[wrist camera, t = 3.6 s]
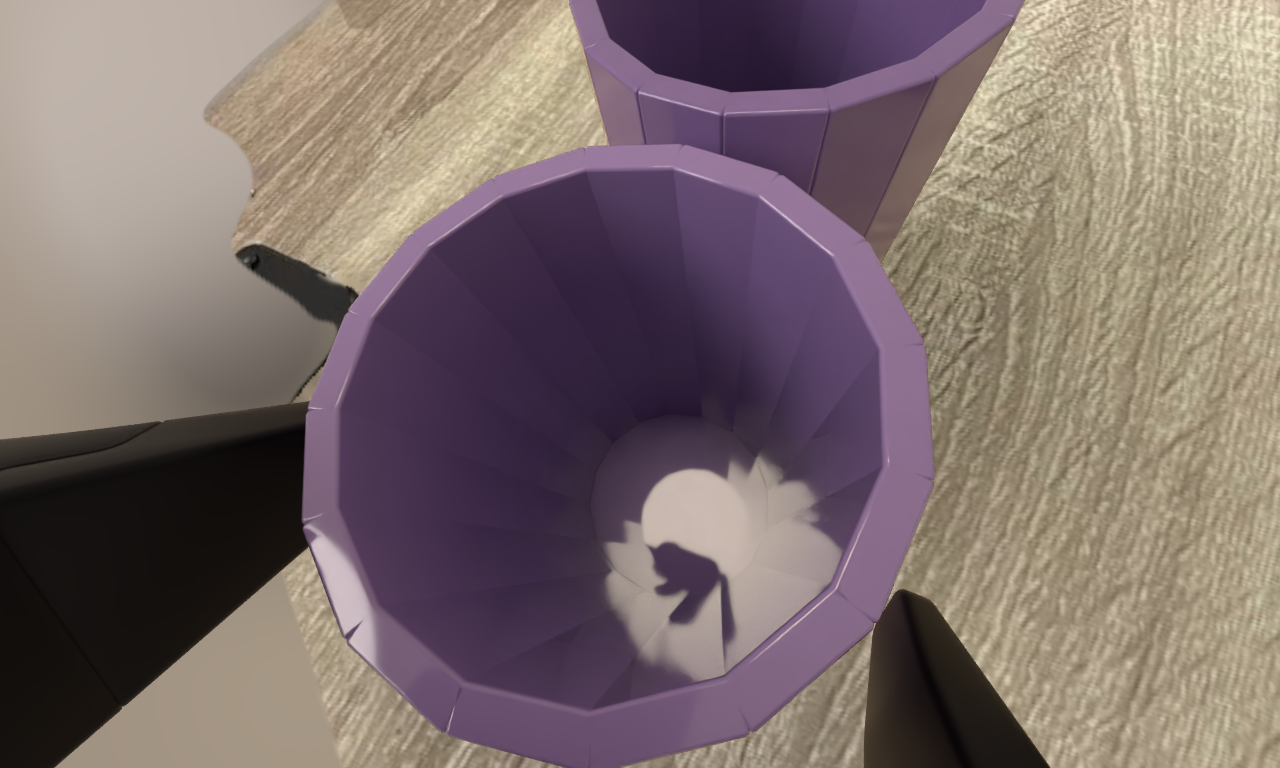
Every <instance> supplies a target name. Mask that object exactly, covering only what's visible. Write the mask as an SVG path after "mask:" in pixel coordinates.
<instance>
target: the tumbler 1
mask: <svg viewBox="0 0 1280 768" xmlns="http://www.w3.org/2000/svg"><path fill="white" fill-rule="evenodd" d="M1024 2H1025V0H569V5H570V9H571V13H572V16H573V20H574V24H575V27H576V31H577V35H578V39H579V42H580V46H581V50H582V53H583V57H584V61H585V64H586V68H587V72H588V75H589V79H590V83H591V86H592V90H593V94H594V97H595V101H596V105H597V108H598V112H599V116H600V119H601V123H602V127H603V130H604V134H605V138H606V141H607V145H608V146H612V145H648V144H682V146H684V145H690V146H693V147H697V148H700V149H703V150H707V151H710V152H713V153H717V154H720V155H723V156H727V157H730V158H733V159H736V160H740V161H743V162H746V163H750V164H753V165H756V166H760V167H763V168H766V169H770V170H773V171H776V172H778V173H779V175H784V176H785V177H787V178H788V179H789V180H791V181H792V182H793V183H795V184H796V185H797V186H798V187H800V188H801V189H802V190H804V191H805V192H806V193H808V194H809V195H810V196H811V197H813V198H814V199H815V200H817V201H818V202H819V203H821V204H822V205H823V206H824V207H826V208H827V209H828V210H830V211H831V212H832V213H834V214H835V215H836V216H838V217H839V218H840V219H841V220H843V221H844V222H845V223H847V224H848V225H849V226H851V227H852V228H853V229H854V230H856V231H857V232H858V233H860V234H861V235H862V236H863V237H864V238H865V241H867V242H869V244H870V245H871V247H872V249H873V251H874V253H875V254H876V256H877V258H878V260H879V261H880V263H882V261H883V259H884V257H885V255H886V254H887V252H888V250H889V248H890V246H891V245H892V243H893V241H894V239H895V237H896V235H897V234H898V232H899V230H900V228H901V226H902V225H903V223H904V221H905V219H906V217H907V216H908V214H909V212H910V210H911V208H912V207H913V205H914V203H915V201H916V199H917V198H918V196H919V194H920V192H921V190H922V188H923V187H924V185H925V183H926V181H927V179H928V178H929V176H930V174H931V172H932V170H933V169H934V167H935V165H936V163H937V161H938V160H939V158H940V156H941V154H942V152H943V151H944V149H945V147H946V145H947V143H948V141H949V140H950V138H951V136H952V134H953V132H954V131H955V129H956V127H957V125H958V123H959V122H960V120H961V118H962V116H963V114H964V113H965V111H966V109H967V107H968V105H969V103H970V102H971V100H972V98H973V96H974V94H975V93H976V91H977V89H978V87H979V85H980V84H981V82H982V80H983V78H984V76H985V75H986V73H987V71H988V69H989V67H990V66H991V64H992V62H993V60H994V58H995V56H996V55H997V53H998V51H999V49H1000V47H1001V46H1002V44H1003V42H1004V40H1005V38H1006V37H1007V35H1008V33H1009V31H1010V29H1011V28H1012V26H1013V24H1014V22H1015V20H1016V18H1017V16H1018V14H1019V12H1020V10H1021V8H1022V6H1023V4H1024Z"/></svg>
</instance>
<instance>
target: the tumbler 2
mask: <svg viewBox="0 0 1280 768" xmlns="http://www.w3.org/2000/svg"><path fill="white" fill-rule="evenodd" d="M413 234H414V235H413ZM413 234H411V235H409V236H408V237H407V239H406V240H405V241H404V242H403V243H402V245H401V246H400V247H399V248H398V250H397V251H396V252H395V253H394V254H393V256H392V257H391V258H390V259H389V260H388V262H387V263H386V264H385V265H384V267H383V268H382V269H381V270H380V271H379V273H378V274H377V275H376V276H375V278H374V279H373V280H372V281H371V282H370V284H369V285H368V286H367V287H366V288H365V290H364V291H363V292H362V293H361V295H360V296H359V297H358V298H357V299H356V301H355V302H354V303H353V304H352V306H351V307H350V308H349V310H348V311H349V313H347V314H346V315H345V317H344V319H343V322H342V324H341V327H340V329H339V331H338V334H337V336H336V339H335V341H334V344H333V346H332V349H331V351H330V354H329V356H328V359H327V361H326V364H325V366H324V368H323V371H322V373H321V376H320V378H319V381H318V383H317V386H316V388H315V391H314V393H313V396H312V398H311V401H310V403H309V405H308V410H309V412H307V414H306V426H305V448H304V471H303V494H302V517H301V521H302V524H304V526H303V532H304V535H305V537H306V540H307V543H308V545H309V548H310V551H311V553H312V556H313V559H314V562H315V564H316V567H317V570H318V572H319V575H320V578H321V580H322V583H323V586H324V589H325V591H326V594H327V597H328V599H329V602H330V605H331V608H332V610H333V613H334V616H335V618H336V621H337V624H338V626H339V629H340V632H341V635H342V637H343V638H344V639H347V645H348V646H349V647H350V648H351V649H352V650H354V651H355V652H356V653H357V654H358V655H359V656H360V657H361V658H362V659H363V660H364V661H365V662H366V663H367V664H368V665H369V666H370V667H371V668H373V669H374V670H375V671H376V672H377V673H378V674H379V675H380V676H381V677H382V678H383V679H384V680H385V681H386V682H387V683H388V684H389V685H391V686H392V687H393V688H394V689H395V690H396V691H397V692H398V693H399V694H400V695H401V696H402V697H403V698H404V699H405V700H406V701H407V702H409V703H410V704H411V705H412V706H413V707H414V708H415V709H416V710H417V711H418V712H419V713H420V714H421V715H422V716H423V717H424V718H425V719H427V720H428V721H429V722H430V723H431V724H432V725H433V726H434V727H435V728H436V729H437V730H438V731H440V732H443V733H445V732H446V735H447V736H449V737H452V738H456V739H460V740H463V741H467V742H471V743H475V744H479V745H482V746H486V747H490V748H494V749H497V750H501V751H505V752H509V753H513V754H516V755H520V756H524V757H528V758H531V759H535V760H539V761H543V762H546V763H550V764H554V765H558V766H562V767H565V768H621V767H626V766H630V765H634V764H638V763H642V762H646V761H650V760H654V759H658V758H662V757H667V756H671V755H675V754H679V753H683V752H687V751H691V750H695V749H699V748H703V747H708V746H712V745H716V744H720V743H724V742H728V741H732V740H736V739H740V738H744V737H746V736H748V735H749V731H751V732H755V731H757V730H758V729H760V728H761V727H762V726H763V725H764V724H765V723H766V722H768V721H769V720H770V719H771V718H772V717H773V716H774V715H776V714H777V713H778V712H779V711H780V710H781V709H782V708H784V707H785V706H786V705H787V704H788V703H789V702H790V701H792V700H793V699H794V698H795V697H796V696H797V695H798V694H800V693H801V692H802V691H803V690H804V689H805V688H806V687H808V686H809V685H810V684H811V683H812V682H813V681H814V680H816V679H817V678H818V677H819V676H820V675H821V674H822V673H824V672H825V671H826V670H827V669H828V668H829V667H830V666H832V665H833V664H834V663H835V662H836V661H837V660H838V659H840V658H841V657H842V656H843V655H844V654H845V653H846V652H848V651H849V650H850V649H851V648H852V647H853V646H854V645H856V644H857V643H858V642H859V641H860V640H861V639H862V638H864V637H865V636H866V635H867V634H868V633H869V632H870V631H872V629H873V627H874V623H877V622H878V621H879V620H880V618H881V615H882V613H883V610H884V608H885V605H886V603H887V600H888V598H889V596H890V593H891V591H892V588H893V586H894V583H895V581H896V578H897V576H898V573H899V571H900V568H901V566H902V564H903V561H904V559H905V556H906V554H907V551H908V549H909V546H910V544H911V541H912V539H913V537H914V534H915V532H916V529H917V527H918V524H919V522H920V519H921V517H922V514H923V512H924V509H925V507H926V505H927V502H928V500H929V497H930V495H931V492H932V490H933V487H934V482H933V481H932V480H933V479H934V477H935V470H934V455H933V441H932V427H931V413H930V399H929V384H928V370H927V356H926V348H925V346H923V344H924V341H923V338H922V336H921V335H920V333H919V331H918V329H917V328H916V326H915V324H914V322H913V320H912V319H911V317H910V315H909V313H908V311H907V310H906V308H905V306H904V304H903V303H902V301H901V299H900V297H899V295H898V294H897V292H896V290H895V288H894V286H893V285H892V283H891V281H890V279H889V278H888V276H887V274H886V272H885V270H884V269H883V267H882V265H881V263H880V261H879V260H878V258H877V256H876V254H875V253H874V251H873V249H872V247H871V245H870V244H869V242H867V241H865V238H864V237H863V236H862V235H861V234H860V233H858V232H857V231H856V230H854V229H853V228H852V227H851V226H849V225H848V224H847V223H845V222H844V221H843V220H841V219H840V218H839V217H838V216H836V215H835V214H834V213H832V212H831V211H830V210H828V209H827V208H826V207H824V206H823V205H822V204H821V203H819V202H818V201H817V200H815V199H814V198H813V197H811V196H810V195H809V194H808V193H806V192H805V191H804V190H802V189H801V188H800V187H798V186H797V185H796V184H795V183H793V182H792V181H791V180H789V179H788V178H787V177H785V176H784V175H779V173H778V172H776V171H773V170H770V169H766V168H763V167H760V166H756V165H753V164H750V163H746V162H743V161H740V160H736V159H733V158H730V157H727V156H723V155H720V154H717V153H713V152H710V151H707V150H703V149H700V148H697V147H693V146H690V145H684V146H682V144H648V145H612V146H588V147H586V149H585V148H584V147H581V148H578V149H575V150H572V151H569V152H566V153H563V154H560V155H557V156H554V157H551V158H548V159H545V160H542V161H539V162H536V163H533V164H530V165H527V166H524V167H521V168H518V169H515V170H512V171H509V172H506V173H503V174H500V175H497V176H495V177H494V179H489V180H488V181H486V182H485V183H483V184H482V185H480V186H479V187H477V188H476V189H474V190H473V191H472V192H470V193H469V194H467V195H466V196H464V197H463V198H461V199H460V200H458V201H457V202H455V203H454V204H453V205H451V206H450V207H448V208H447V209H445V210H444V211H442V212H441V213H439V214H438V215H436V216H435V217H434V218H432V219H431V220H429V221H428V222H426V223H425V224H423V225H422V226H420V227H419V228H417V229H416V230H415V231H414V232H413ZM873 622H874V623H873Z"/></svg>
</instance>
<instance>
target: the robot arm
mask: <svg viewBox="0 0 1280 768" xmlns="http://www.w3.org/2000/svg"><path fill="white" fill-rule="evenodd" d="M309 403H310V401H308V402H301V403H293V404H286V405H278V406H271V407H264V408H256V409H248V410H241V411H233V412H226V413H219V414H211V415H203V416H196V417H189V418H181V419H174V420H166V421H164V422H150V423H142V424H135V425H128V426H119V427H111V428H104V429H95V430H87V431H78V432H69V433H60V434H50V435H41V436H32V437H22V438H12V439H2V440H0V768H54V767H56V766H57V765H58V764H59V763H60V762H61V761H63V760H64V759H65V758H66V757H67V756H68V755H70V753H72V752H73V751H74V750H75V749H76V748H78V747H79V746H80V745H81V744H82V743H83V742H85V741H86V740H87V739H88V738H89V737H90V736H91V735H93V734H94V733H95V732H96V731H97V730H98V729H100V728H101V727H102V726H103V725H104V724H105V723H106V722H108V721H109V720H110V719H111V718H112V717H113V716H114V715H116V714H117V713H118V712H119V711H120V710H121V709H122V706H125V705H126V704H128V703H129V702H130V701H131V700H132V699H133V698H135V697H136V696H137V695H138V694H139V693H140V692H141V691H143V690H144V689H145V688H146V687H147V686H148V685H150V684H151V683H152V682H153V681H154V680H155V679H157V678H158V677H159V676H160V675H161V674H162V673H163V672H165V671H166V670H167V669H168V668H169V667H170V666H171V665H173V664H174V663H175V662H176V661H177V660H178V659H180V658H181V657H182V656H183V655H184V654H185V653H187V652H188V651H189V650H190V649H191V648H192V647H193V646H195V645H196V644H197V643H198V642H199V641H200V640H202V639H203V638H204V637H205V636H206V635H207V634H209V633H210V632H211V631H212V630H213V629H214V628H215V627H217V626H218V625H219V624H220V623H221V622H222V621H223V620H225V619H226V618H227V617H228V616H229V615H230V614H232V613H233V612H234V611H235V610H236V609H237V608H238V607H240V606H241V605H242V604H243V603H244V602H245V601H247V599H249V598H250V597H251V596H252V595H254V594H255V593H256V592H257V591H258V590H259V589H261V588H262V587H263V586H264V585H265V584H266V583H267V582H268V581H270V580H271V579H272V578H273V577H274V576H276V575H277V574H278V573H279V572H280V571H281V570H282V569H284V568H285V567H286V566H287V565H288V564H289V563H291V562H292V561H293V560H294V559H295V558H296V557H297V556H299V555H300V554H301V553H302V552H303V551H304V550H306V549H307V548H308V547H309V545H308V543H307V540H306V537H305V535H304V532H303V526H304V524H302V521H301V517H302V494H303V471H304V448H305V426H306V414H307V412H309V410H308V405H309ZM864 768H1050V766H1049V765H1048V763H1047V762H1046V761H1045V759H1044V758H1043V756H1042V755H1041V754H1040V752H1039V751H1038V749H1037V748H1036V747H1035V745H1034V744H1033V742H1032V741H1031V740H1030V738H1029V737H1028V735H1027V734H1026V733H1025V731H1024V730H1023V728H1022V727H1021V726H1020V724H1019V723H1018V721H1017V720H1016V719H1015V717H1014V716H1013V714H1012V713H1011V712H1010V710H1009V709H1008V707H1007V706H1006V704H1005V703H1004V702H1003V700H1002V699H1001V697H1000V696H999V695H998V693H997V692H996V690H995V689H994V688H993V686H992V685H991V683H990V682H989V681H988V679H987V678H986V676H985V675H984V674H983V672H982V671H981V669H980V668H979V667H978V665H977V664H976V662H975V661H974V660H973V658H972V657H971V655H970V654H969V652H968V651H967V650H966V648H965V647H964V645H963V644H962V643H961V641H960V640H959V638H958V637H957V636H956V634H955V633H954V631H953V630H952V629H951V627H950V626H949V624H948V623H947V622H946V620H945V619H944V617H943V616H942V615H941V613H940V612H939V610H938V609H937V608H936V606H935V605H934V604H933V603H932V602H931V601H930V600H929V599H927V598H925V597H922V596H920V595H917V594H915V593H912V592H910V591H907V590H904V589H902V590H898V591H897V592H896V593H895V594H894V595H893V597H892V598H891V600H890V602H889V603H888V605H887V606H886V608H885V610H884V611H883V613H882V615H881V618H880V620H879V621H878V622H877V623H876V625H875V628H874V631H873V636H872V647H871V659H870V671H869V683H868V695H867V707H866V719H865V733H864Z"/></svg>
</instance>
